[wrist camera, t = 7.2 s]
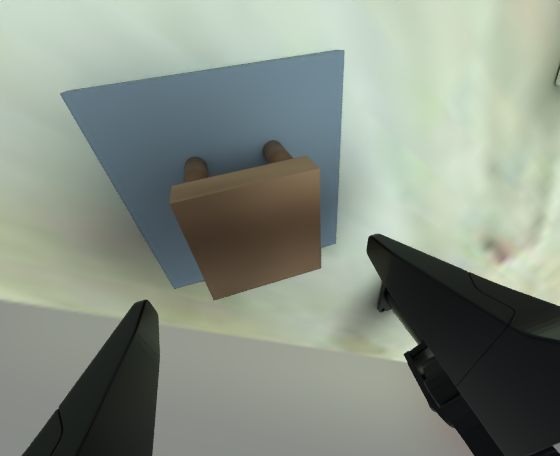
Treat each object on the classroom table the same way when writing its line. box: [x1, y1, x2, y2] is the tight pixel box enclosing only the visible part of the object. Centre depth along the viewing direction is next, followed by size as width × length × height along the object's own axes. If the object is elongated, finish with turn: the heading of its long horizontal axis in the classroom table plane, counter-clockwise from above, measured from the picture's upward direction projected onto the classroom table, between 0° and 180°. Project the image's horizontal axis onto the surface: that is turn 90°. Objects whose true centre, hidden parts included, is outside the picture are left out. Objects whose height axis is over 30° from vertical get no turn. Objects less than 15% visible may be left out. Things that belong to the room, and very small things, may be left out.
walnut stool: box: [169, 140, 321, 300], centre depth 13 cm, size 6×6×5 cm
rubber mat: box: [60, 50, 344, 289], centre depth 16 cm, size 13×13×1 cm
